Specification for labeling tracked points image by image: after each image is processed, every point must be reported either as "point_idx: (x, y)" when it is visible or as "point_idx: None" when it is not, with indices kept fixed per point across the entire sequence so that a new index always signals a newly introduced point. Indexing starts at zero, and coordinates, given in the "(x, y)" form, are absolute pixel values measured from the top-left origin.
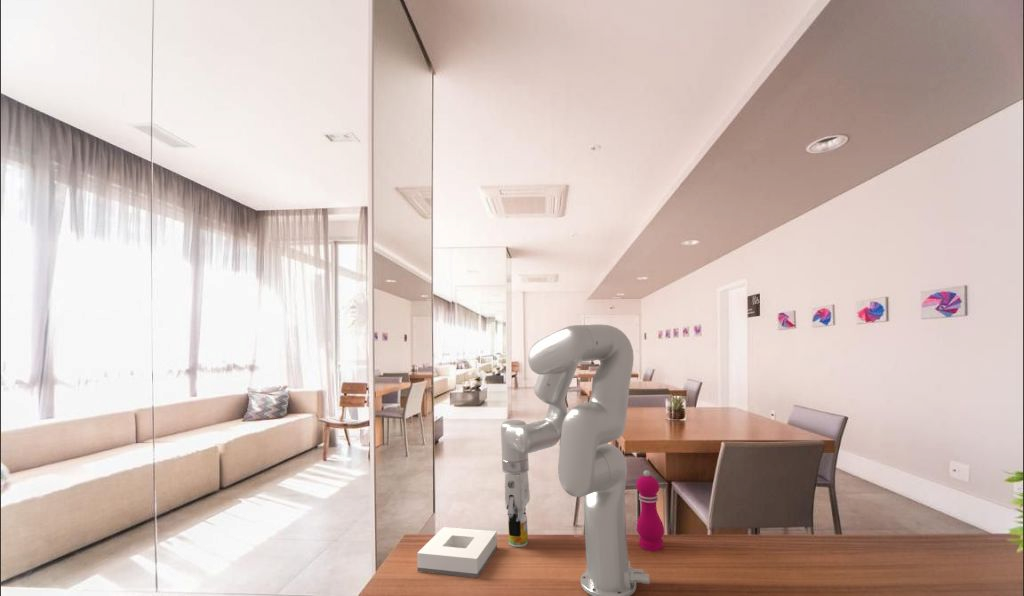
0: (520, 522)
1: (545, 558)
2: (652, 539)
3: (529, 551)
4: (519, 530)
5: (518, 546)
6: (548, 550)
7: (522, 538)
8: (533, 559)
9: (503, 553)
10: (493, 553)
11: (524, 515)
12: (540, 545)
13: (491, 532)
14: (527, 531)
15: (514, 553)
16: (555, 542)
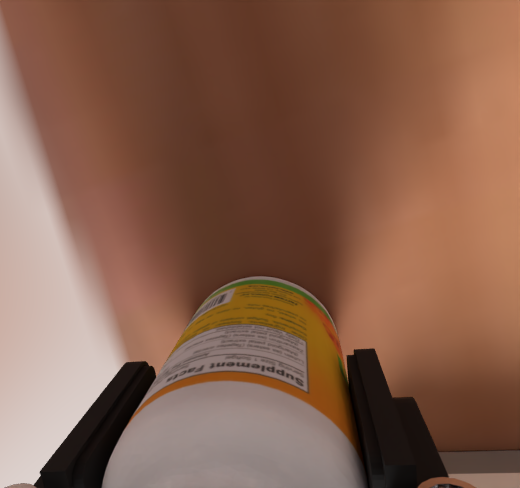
0: (344, 441)
1: (473, 36)
2: None
3: (374, 218)
4: (386, 386)
5: (333, 323)
6: (315, 63)
7: (317, 321)
8: (511, 137)
9: (452, 391)
10: (475, 453)
11: (192, 460)
12: (245, 165)
13: None
14: (229, 313)
15: (435, 318)
16: (148, 53)
